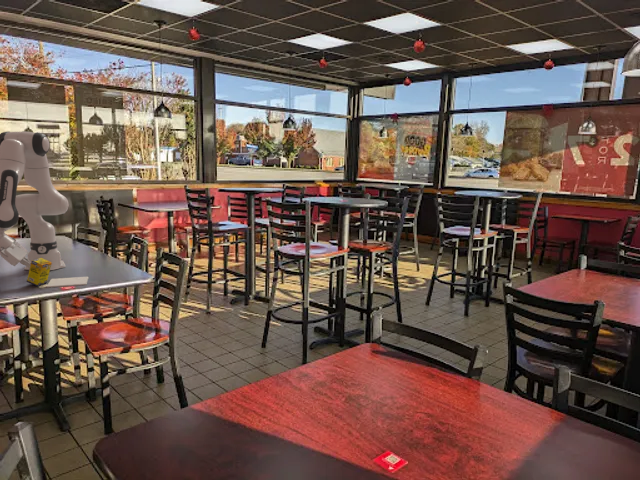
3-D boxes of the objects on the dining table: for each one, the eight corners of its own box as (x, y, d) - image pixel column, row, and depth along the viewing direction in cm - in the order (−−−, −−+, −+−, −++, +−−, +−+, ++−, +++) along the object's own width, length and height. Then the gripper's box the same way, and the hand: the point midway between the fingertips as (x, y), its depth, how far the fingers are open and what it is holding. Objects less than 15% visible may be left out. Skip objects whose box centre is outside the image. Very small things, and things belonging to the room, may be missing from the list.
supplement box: (37, 286, 212) (42, 265, 210) (26, 281, 213) (31, 260, 211) (47, 283, 218) (52, 262, 216) (36, 278, 219) (41, 257, 217)
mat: (51, 280, 224) (51, 278, 224) (88, 277, 230) (88, 276, 230) (46, 287, 211) (46, 286, 211) (86, 284, 217) (86, 283, 217)
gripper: (3, 244, 199) (32, 265, 205) (14, 237, 218) (40, 256, 223) (-8, 255, 199) (21, 276, 204) (3, 246, 217) (29, 266, 222)
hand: (31, 266), depth 214 cm, fingers closed
